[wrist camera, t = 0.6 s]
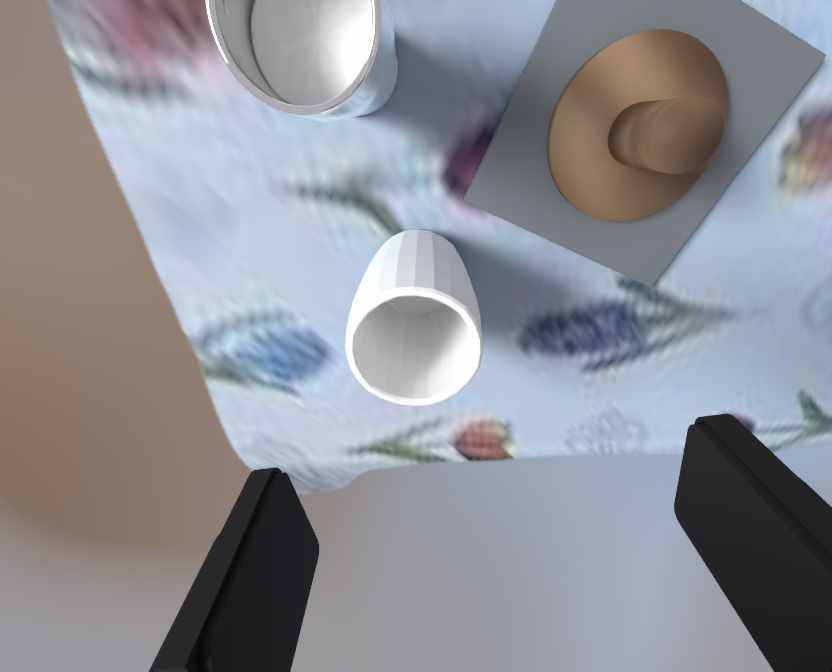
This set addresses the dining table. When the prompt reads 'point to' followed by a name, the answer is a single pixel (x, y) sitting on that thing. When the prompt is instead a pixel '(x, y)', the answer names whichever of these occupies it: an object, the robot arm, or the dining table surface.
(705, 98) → the lid
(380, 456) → the dining table surface
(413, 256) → the cup
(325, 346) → the dining table surface
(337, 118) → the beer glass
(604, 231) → the mat
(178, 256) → the dining table surface
